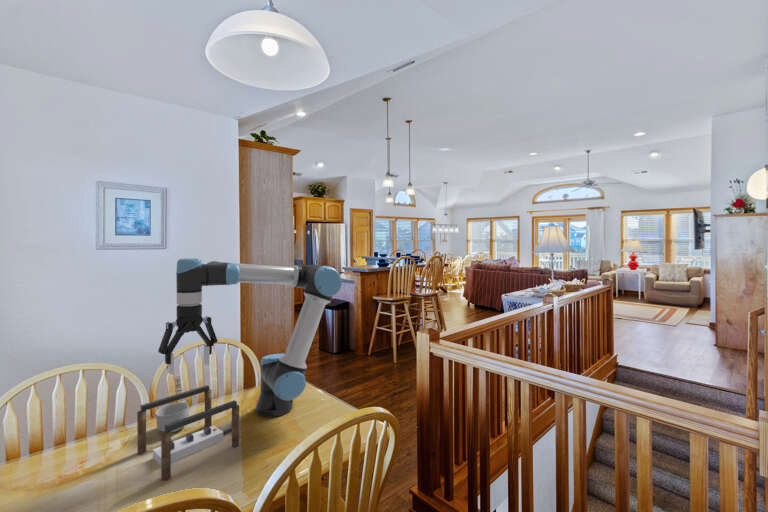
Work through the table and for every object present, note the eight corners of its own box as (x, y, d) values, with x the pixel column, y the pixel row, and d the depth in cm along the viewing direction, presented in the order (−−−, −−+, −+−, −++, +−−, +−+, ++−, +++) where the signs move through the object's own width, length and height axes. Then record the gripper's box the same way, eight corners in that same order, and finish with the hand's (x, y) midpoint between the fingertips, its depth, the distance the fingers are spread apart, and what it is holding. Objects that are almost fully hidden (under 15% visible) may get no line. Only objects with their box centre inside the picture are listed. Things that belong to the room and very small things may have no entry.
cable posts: (209, 424, 137) (209, 388, 137) (240, 445, 124) (240, 406, 123) (136, 452, 118) (136, 411, 118) (163, 481, 104) (163, 435, 104)
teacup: (173, 438, 127) (173, 416, 127) (148, 434, 129) (148, 413, 129) (201, 419, 141) (201, 399, 140) (177, 416, 143) (177, 397, 143)
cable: (234, 404, 123) (234, 400, 123) (236, 406, 122) (236, 401, 122) (164, 430, 106) (164, 425, 106) (167, 432, 105) (167, 427, 105)
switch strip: (229, 426, 136) (229, 414, 136) (238, 433, 131) (239, 420, 131) (152, 458, 115) (152, 444, 115) (161, 467, 111) (161, 452, 111)
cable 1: (207, 389, 136) (207, 385, 136) (209, 390, 135) (209, 386, 135) (140, 409, 118) (140, 405, 118) (142, 411, 117) (142, 406, 117)
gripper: (217, 298, 130) (217, 357, 131) (145, 307, 112) (146, 375, 113) (228, 301, 126) (228, 362, 127) (154, 310, 108) (155, 381, 108)
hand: (189, 368), depth 120 cm, fingers open, 11 cm apart
